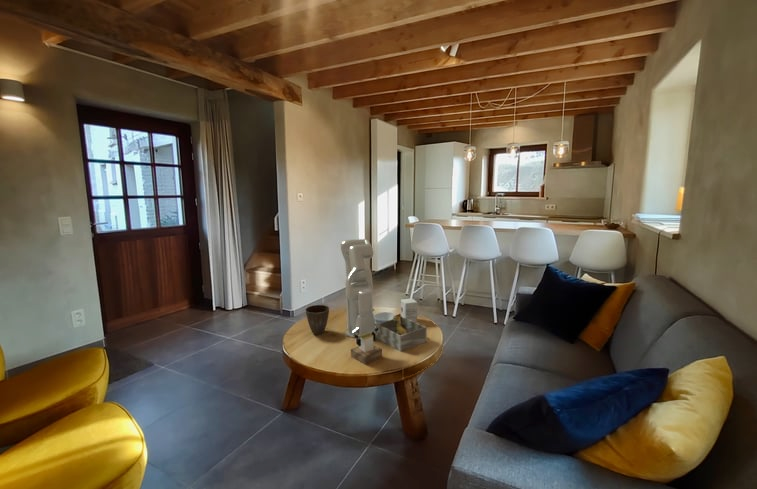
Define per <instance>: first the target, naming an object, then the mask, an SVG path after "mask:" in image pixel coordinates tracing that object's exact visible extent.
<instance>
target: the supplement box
mask: <svg viewBox="0 0 757 489" xmlns="http://www.w3.org/2000/svg"><path fill="white" fill-rule="evenodd" d="M400 315H401V317H405V318H407V319H409V320H411V321H414V322H416V323H418V301H416V300H415V299H414V298H411V297H410V298H405V299H404V298H402V299H400Z"/></svg>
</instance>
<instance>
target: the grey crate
mask: <svg viewBox="0 0 757 489" xmlns="http://www.w3.org/2000/svg"><path fill="white" fill-rule="evenodd" d="M400 319H401V326H402V327H403V328H404V329H406V331H407V333H406V334H403V335H398V334H396V333H394V332H396V331H397V330H396V327H397V323H398V321H396V322H394V321H393V319H392V320H388V321H385V322H382V323H378V324H379V328H378V331H377V333H376V339H377V340H379V341H380V342H383V343H385V344H386V345H388V346H389V347H392V348H394V349H396V350H397V351H398V352H402V351H405V350H408V349H410V348H413V347H417V346H418V345H421V344H423V343H426V342H427V338H428V335H427V333H428V332H427V330H428V329H427V328H428V327H427V326H425V325H423V324H420V323H418V322H417V323H416V322H414V321H411V320H409V319H407V318H405V317H401V318H400Z"/></svg>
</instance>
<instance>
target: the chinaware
mask: <svg viewBox="0 0 757 489" xmlns="http://www.w3.org/2000/svg"><path fill="white" fill-rule="evenodd" d="M373 315H374V319H375V323H376V324H378V323H382V322H385V321H388V320H392V319H393V317H394V316H395V315H396V313H393V312H387V311H383V312H377V313H375V314H373Z"/></svg>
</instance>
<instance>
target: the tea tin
mask: <svg viewBox="0 0 757 489" xmlns="http://www.w3.org/2000/svg"><path fill="white" fill-rule="evenodd" d="M360 339H361V346H359V349H361V350H362V351H364V352H367V351H370V350H373V345H374V341H373V335H372V334H371V333H368V334H364V335H362V336H361V337H360Z"/></svg>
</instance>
